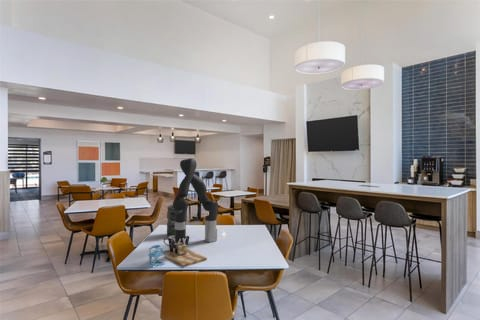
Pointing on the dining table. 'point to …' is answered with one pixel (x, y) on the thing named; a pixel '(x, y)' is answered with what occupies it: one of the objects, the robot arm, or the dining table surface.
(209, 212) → the robot arm
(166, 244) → the coffee mug
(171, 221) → the canister
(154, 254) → the chair
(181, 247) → the sanding block
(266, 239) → the dining table surface
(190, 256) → the board
